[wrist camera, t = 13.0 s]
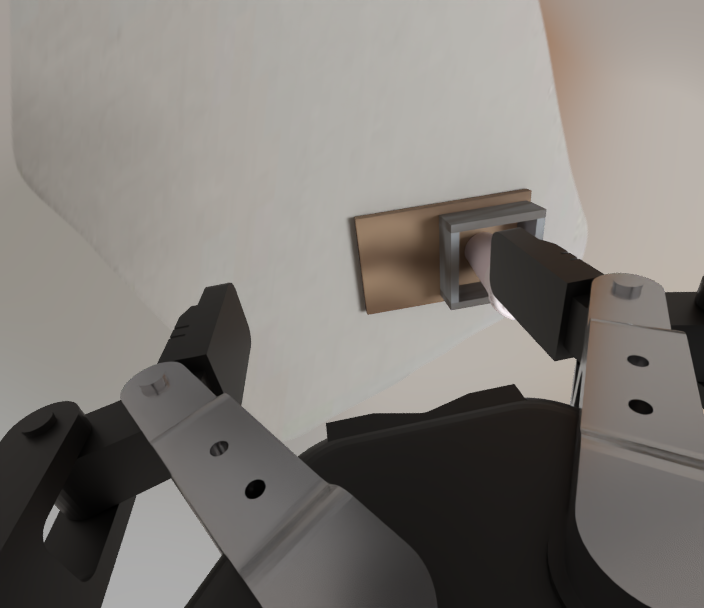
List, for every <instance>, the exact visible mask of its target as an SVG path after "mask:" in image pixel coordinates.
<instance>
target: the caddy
mask: <svg viewBox="0 0 704 608" xmlns="http://www.w3.org/2000/svg"><path fill="white" fill-rule="evenodd" d="M530 201H531V190H528V189H521V190H515V191H509V192H503V193H497V194H491V195H485V196H479V197H473V198H466V199H460V200H454V201H448V202H442V203H436V204H430V205H424V206H418V207H412V208H406V209H400V210H393V211H387V212H381V213H375V214H369V215H363V216H357V217H354V219H355V227H356V234H357V242H358V250H359V258H360V266H361V274H362V281H363V289H364V297H365V305H366V311H367V314H368V315H369V314H375V313H380V312H386V311H391V310H397V309H403V308H408V307H414V306H420V305H425V304H431V303H437V302H442V301H445V302H446V304H447V305H448V306H449V308H450V309H451V310H455V309H461V308H466V307H472V306H477V305H483V304H489V303H490V300H489V296H488V292H487V291H486V289H485V287H484V286H483V284H482V283H481V281H480V279H479V278H478V276H477V275H476V273H475V272H474V270H473V268H472V267H471V265H470V264H469V262H468V260H467V259H466V257H465V247H466V244H467V242H468V241H469V240H470V239H471V238H472V237H473V236H474V235H476V234H478V233H481V232H488V233H491V234H493V233H494V232H497V231H503V230H508V229H513V228H518V227H520V228H522V229H524V230H526V231H527V232H529V233H530V234H532V235H533V236H535V237H536V238H538V239H540V240H543V233H544V225H545V217H546V209H545V208H542V207H540V206H538V205H536V204H534V203H532V202H530Z"/></svg>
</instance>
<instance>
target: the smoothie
mask: <svg viewBox="0 0 704 608" xmlns="http://www.w3.org/2000/svg"><path fill="white" fill-rule="evenodd" d="M492 235H493V234H491V233H488V232H481V233H478V234H476V235H474V236H473V237H472V238H471V239H470V240H469V241H468V242H467V244H466V247H465V257H466V259H467V260H468V262H469V264H470V265H471V267H472V268H473V270H474V272H475V273H476V275H477V276H478V278H479V279H480V281H481V283H482V284H483V286H484V287H485V289H486V291H487V292H488V296H489V300H490V303H491V305H492V306H493V307H494V308H495V310H496V311H498V312H499V313H500V314H501V315H502V316H504V317H506V318H509V319H512V320H516V319H515V318H514V317H513V316H512V315H511V314H510V313H509V312H508V311H507V309H506V308H505V307H504V306H503V305H502V304H501V303H500V302H499V301H498V300H497V299H496V298H495V296H494V295H493V293H492V290H491V286H490V254H491V238H492Z"/></svg>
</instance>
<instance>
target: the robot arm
mask: <svg viewBox="0 0 704 608" xmlns="http://www.w3.org/2000/svg"><path fill="white" fill-rule="evenodd" d="M490 286H491V290H492V293H493V295H494V296H495V298H496V299H497V300H498V301H499V302H500V303H501V304H502V305H503V306H504V307H505V308H506V309H507V311H508V312H509V313H510V314H511V315H512V316H513V317H514V318H515V319H516V320H517V321H518V322H519V323H520V325H521V326H522V327H523V328H524V329H525V330H526V331H527V332H528V333H529V334H530V335H531V336H532V337H533V339H534V340H535V341H536V342H537V343H538V344H539V345H540V346H541V347H542V348H543V349H544V350H545V351H546V352H547V354H548V355H549V356H550V357H551V358H552V359H553V360H554V361H558V360H563V359H568V358H573V357H574V358H575V359H577V360H576V366H575V370H574V378H573V386H572V394H571V401H570V405H568V404H565V403H561V402H556V401H552V400H546V399H539V398H524V397H523V395H522V394H521V392H520V391H519V390H518V388H517V387H516V386H515V384H512V385H507V386H503V387H497V388H493V389H488V390H483V391H479V392H474V393H469V394H466V395H464V396H462V397H460V398H458V399H455V400H453V401H451V402H449V403H447V404H444V405H442V406H440V407H438V408H436V409H433V410H431V411H429V412H425V413H376V414H375V413H373V414H368V415H363V416H358V417H354V418H349V419H344V420H339V421H335V422H330V423H326V427H327V439H325V440H323V441H321V442H319V443H317V444H316V445H314V446H312V447H310V448H309V449H307V450H306V451H305V452H303V453H302V454H300V455H299V456H298V457H297V456H296V455H295V454H294V453H293V452H292V451H291V450H289V449H288V448H287V447H286V446H285V445H284V444H283V443H282V442H281V441H280V440H278V439H277V438H276V437H275V436H274V435H273V434H272V433H271V432H270V431H268V430H267V429H266V428H265V427H264V426H263V425H262V424H261V423H260V422H258V421H257V420H256V419H255V418H254V417H253V416H252V415H251V414H250V413H248V412H247V411H246V410H245V409H244V408H243V407H242V406H241V404H242V398H243V392H244V385H245V379H246V373H247V367H248V361H249V354H250V348H251V336H250V330H249V326H248V323H247V321H246V318H245V315H244V312H243V309H242V306H241V303H240V301H239V298H238V295H237V292H236V289H235V287H234V285H233V284H232V283H226V284H220V285H215V286H210V287H206V288H205V289H204V292H203V294H202V296H201V299H200V301H199V303H198V305H196V306H191V307H190V308H189V309H188V310H187V311H186V312H185V313H184V314H182V315H181V316H180V317H179V319H178V321H177V324H176V326H175V330H173V332H172V334H171V336H170V339H169V340H168V342H167V344H166V347H165V349H164V351H163V353H162V355H161V357H160V359H159V361H158V363H157V364H156V365H153V366H151V367H148V368H146V369H144V370H143V371H141V372H139V373H138V374H136V375H135V376H134V377H133V378H132V379H130V380H129V381H128V382H127V383H126V384H125V386H124V387H123V389H122V391H121V395H120V398H121V400H120V401H118V402H115V403H113V404H110V405H108V406H105V407H103V408H100V409H98V410H95V411H93V412H90V413H88V414H84V413H83V412H82V410H81V409H80V408H79V406H78V405H77V404H76V403H74V402H70V401H63V402H57V403H53V404H50V405H47V406H45V407H43V408H40V409H38V410H36V411H35V412H33V413H31V414H29V415H28V416H26V417H25V418H23V419H22V420H20V421H19V422H18V423H17V424H16V425H14V426H13V427H12V428H11V429H10V430H9V431H8V432H7V434H6V435H5V436H4V437H3V439H2V440H1V442H0V608H101V606H102V603H103V599H104V596H105V593H106V590H107V586H108V584H109V581H110V577H111V574H112V571H113V568H114V565H115V562H116V558H117V555H118V552H119V549H120V546H121V542H122V539H123V536H124V533H125V530H126V527H127V524H128V520H129V517H130V514H131V511H132V508H133V505H134V502H135V498H136V495H137V494H140V493H142V492H144V491H146V490H148V489H150V488H152V487H154V486H156V485H158V484H160V483H162V482H164V481H166V480H168V479H170V478H171V479H172V480H173V482H174V483H175V485H176V486H177V488H178V489H179V491H180V492H181V494H182V496H183V497H184V499H185V500H186V501H187V503H188V504H189V506H190V508H191V509H192V511H193V512H194V514H195V515H196V517H197V518H198V519H199V521H200V523H201V524H202V526H203V527H204V528H205V530H206V532H207V533H208V535H209V536H210V538H211V539H212V541H213V542H214V544H215V545H216V547H217V548H218V550H219V552H220V553H221V555H222V556H221V557H220V559H219V560H218V562H217V563H216V564H215V566H214V567H213V568H212V570H211V571H210V573H209V574H208V575H207V577H206V578H205V580H204V581H203V582H202V584H201V585H200V586H199V588H198V589H197V591H196V592H195V594H194V595H193V596H192V598H191V599H190V600H189V602H188V603H187V605H186V606H185V607H184V608H704V414H703V409H704V276H703V277H702V280H701V283H700V286H699V288H698V291H697V292H665V291H664V288H663V287H662V286H661V285H660V284H659V283H657V282H655V281H654V280H651V279H649V278H646V277H643V276H639V275H634V274H627V273H612V274H605V275H604V274H603V273H601V272H600V271H598V270H596V269H595V268H593V267H592V266H590V265H588V264H587V263H585V262H583V261H582V260H580V259H577V257H576V256H574V255H572V254H571V253H568V252H567V251H566V250H564V249H563V248H561V247H560V246H558V245H556V244H554V243H550V242H547V241H544V240H540V239H538V238H536V237H535V236H533V235H532V234H530V233H529V232H527V231H526V230H524V229H522V228H520V227H518V228H513V229H508V230H503V231H497V232H494V233H493V235H492V238H491V254H490ZM702 408H703V409H702ZM54 504H55V506H57V508H58V509H59V510H60V511H59V513H58V516H57V518H56V520H55V522H54V524H53V526H52V528H51V530H50V532H49V534H48V536H47V538H46V540H45V542H43V529H44V525H45V521H46V519H47V517H48V515H49V513H50V511H51V509H52V507H53V505H54Z"/></svg>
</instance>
